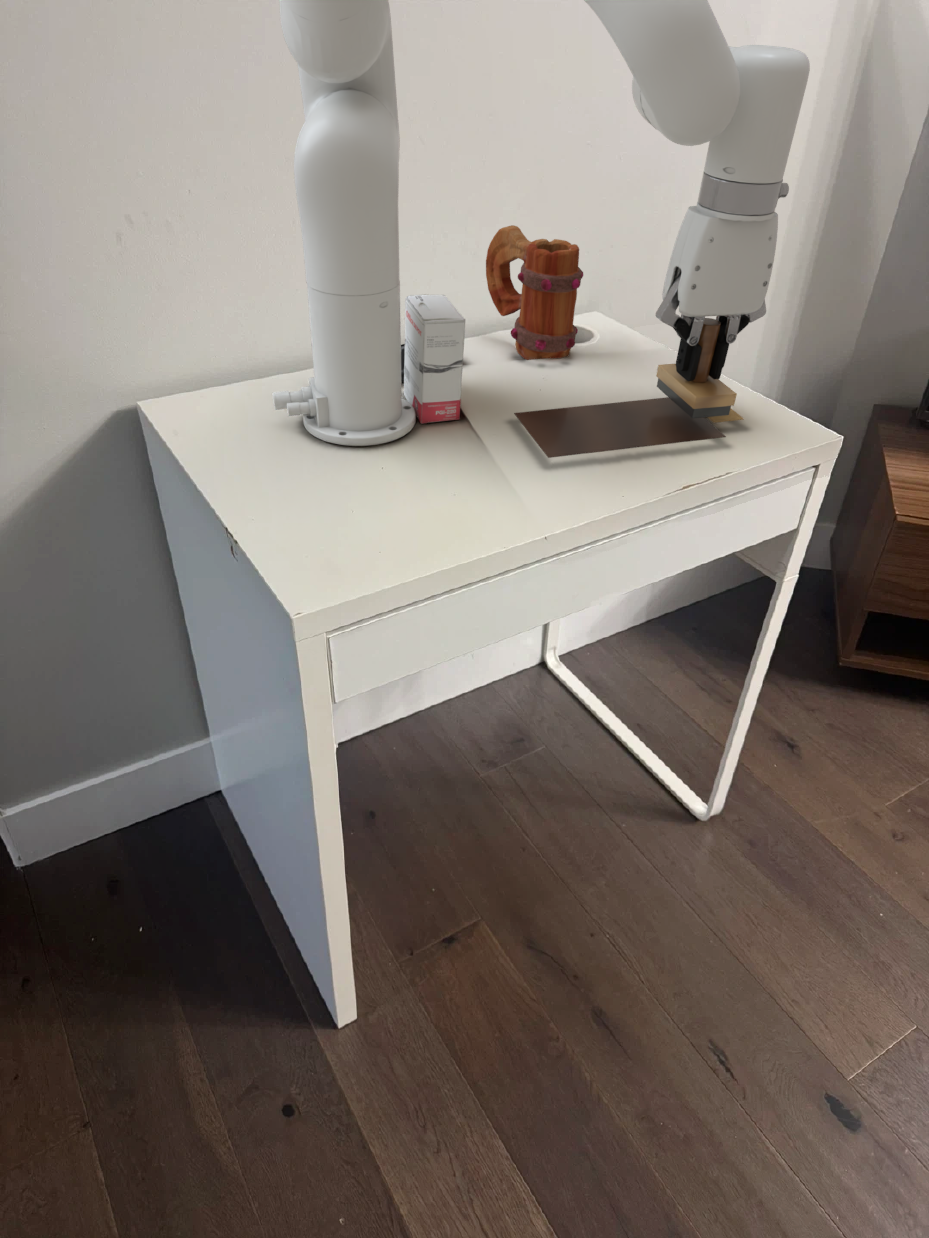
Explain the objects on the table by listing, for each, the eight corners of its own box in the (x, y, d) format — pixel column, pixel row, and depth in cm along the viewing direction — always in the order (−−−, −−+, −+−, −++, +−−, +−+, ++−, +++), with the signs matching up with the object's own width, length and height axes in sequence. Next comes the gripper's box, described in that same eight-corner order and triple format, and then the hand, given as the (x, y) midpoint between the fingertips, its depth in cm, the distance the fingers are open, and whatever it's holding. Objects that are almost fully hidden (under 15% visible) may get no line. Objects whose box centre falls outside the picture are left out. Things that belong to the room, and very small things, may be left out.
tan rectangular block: (711, 432, 100) (713, 422, 99) (694, 417, 103) (696, 407, 102) (742, 428, 101) (744, 419, 100) (724, 414, 104) (726, 404, 103)
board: (547, 467, 92) (548, 457, 92) (513, 422, 101) (513, 412, 100) (724, 446, 97) (726, 436, 97) (678, 405, 106) (679, 395, 105)
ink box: (463, 421, 101) (466, 317, 93) (420, 425, 99) (420, 320, 92) (442, 390, 107) (444, 291, 100) (402, 394, 106) (401, 294, 98)
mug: (590, 359, 116) (604, 239, 107) (551, 376, 111) (562, 252, 102) (507, 329, 124) (513, 216, 115) (467, 344, 119) (471, 226, 110)
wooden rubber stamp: (691, 419, 95) (709, 338, 90) (654, 386, 102) (669, 308, 97) (731, 416, 97) (752, 335, 91) (692, 383, 103) (709, 306, 98)
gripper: (787, 186, 91) (743, 358, 102) (647, 188, 87) (617, 367, 98) (830, 204, 85) (778, 384, 97) (682, 207, 81) (646, 394, 93)
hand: (697, 374), depth 97 cm, fingers closed on wooden rubber stamp, 2 cm apart
